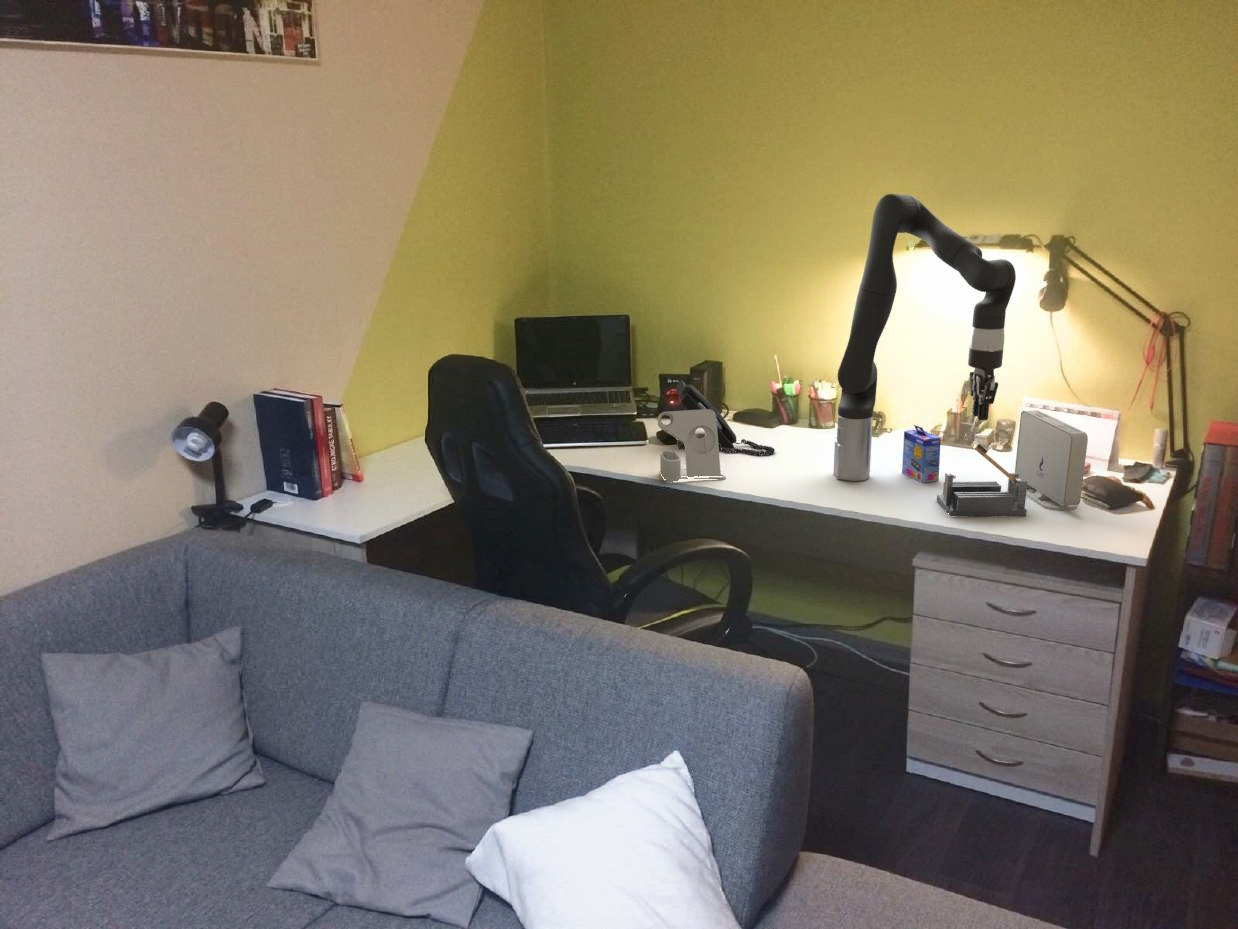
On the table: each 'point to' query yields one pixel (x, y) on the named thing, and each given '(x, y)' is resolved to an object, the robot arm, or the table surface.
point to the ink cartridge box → (921, 455)
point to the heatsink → (983, 498)
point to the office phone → (725, 433)
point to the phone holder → (691, 445)
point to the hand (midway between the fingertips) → (980, 417)
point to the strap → (993, 462)
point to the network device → (1051, 459)
